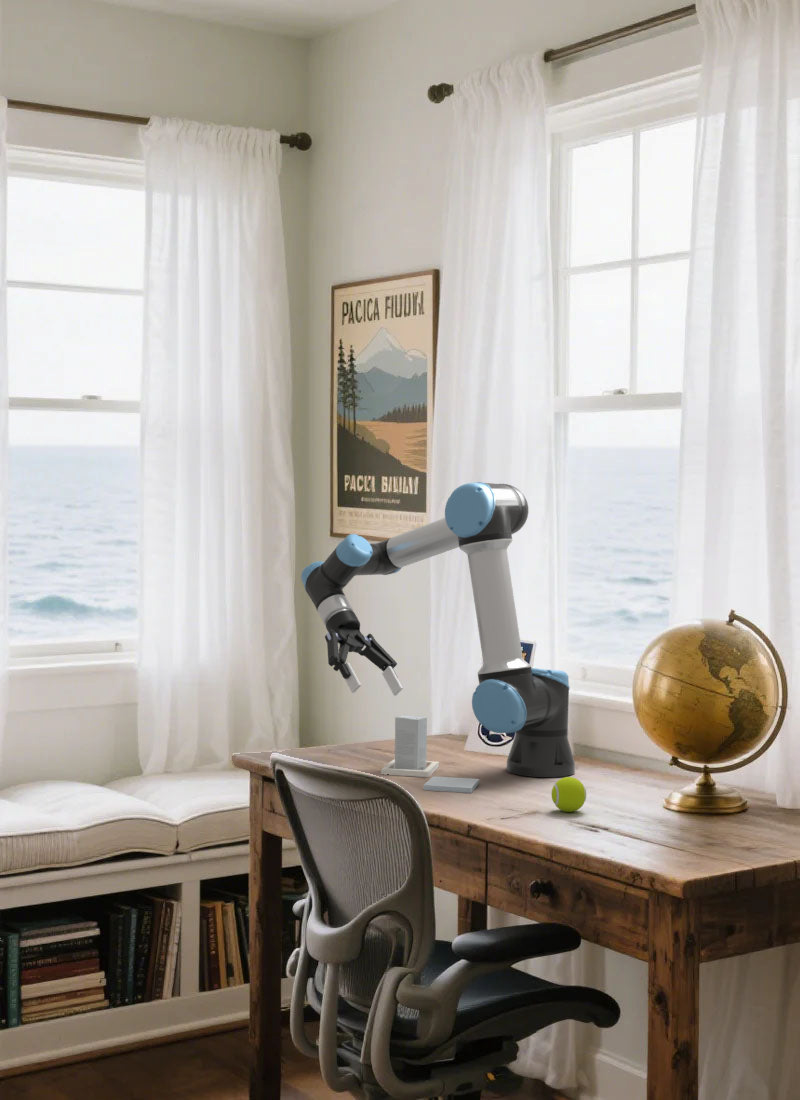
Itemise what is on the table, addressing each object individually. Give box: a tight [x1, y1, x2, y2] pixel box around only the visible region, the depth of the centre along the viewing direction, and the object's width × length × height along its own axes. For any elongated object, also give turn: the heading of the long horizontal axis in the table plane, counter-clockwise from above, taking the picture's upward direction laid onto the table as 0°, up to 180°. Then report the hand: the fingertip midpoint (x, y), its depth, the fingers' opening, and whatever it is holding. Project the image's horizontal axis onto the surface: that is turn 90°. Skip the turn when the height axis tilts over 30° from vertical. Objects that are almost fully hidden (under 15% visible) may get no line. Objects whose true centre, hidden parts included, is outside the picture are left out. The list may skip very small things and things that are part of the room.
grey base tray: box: [380, 758, 440, 778], centre depth 310 cm, size 10×12×1 cm
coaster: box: [423, 775, 480, 794], centre depth 293 cm, size 10×10×1 cm
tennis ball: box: [551, 776, 587, 813], centre depth 271 cm, size 7×7×7 cm
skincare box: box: [394, 714, 428, 770], centre depth 310 cm, size 6×4×12 cm
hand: (378, 690), depth 315 cm, fingers open, 13 cm apart
